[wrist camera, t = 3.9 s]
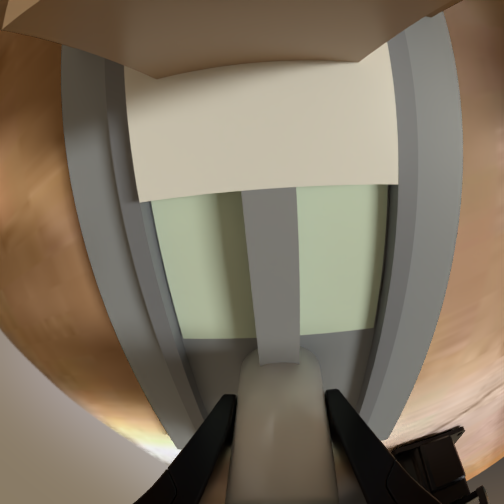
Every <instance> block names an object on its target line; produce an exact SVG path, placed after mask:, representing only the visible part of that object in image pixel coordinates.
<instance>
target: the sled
mask: <svg viewBox="0 0 504 504" xmlns="http://www.w3.org/2000/svg"><path fill="white" fill-rule="evenodd" d="M450 1H452V0H9V1H8V5H7V9H6V13H5V18H4V22H3V28H2V30H7V31H12V32H17V33H22V34H26V35H31V36H35V37H39V38H43V39H47V40H50V41H54V42H57V43H61V44H64V45H68V46H71V47H74V48H77V49H80V50H83V51H86V52H89V53H92V54H95V55H98V56H100V57H103V58H106V59H109V60H111V61H114V62H116V63H119V64H122V65H124V78H125V94H126V107H127V117H128V127H129V136H130V144H131V152H132V159H133V166H134V173H135V179H136V185H137V191H138V197H139V202H147V201H154V200H162V199H169V198H177V197H186V196H194V195H203V194H213V193H223V192H234V191H241V195H242V204H243V214H244V224H245V233H246V243H247V252H248V261H249V271H250V280H251V290H252V299H253V308H254V317H255V326H256V336H257V345H258V349H256V350H254V351H253V352H251V353H250V354H249V355H248V356H247V357H246V358H245V359H244V361H243V362H242V365H241V372H240V380H239V388H238V397H237V405H236V414H235V422H234V431H233V439H232V447H231V456H230V464H229V472H228V481H227V489H226V497H225V504H339V496H338V487H337V479H336V470H335V463H334V455H333V448H332V440H331V433H330V427H329V420H328V414H327V407H326V401H325V395H324V389H323V383H322V377H321V372H320V366H319V362H318V359H317V358H316V356H315V355H314V354H313V353H312V352H311V351H309V350H308V349H306V348H304V347H301V346H300V275H299V239H298V214H297V194H296V187H305V186H328V185H371V184H398V132H397V116H396V103H395V93H394V84H393V76H392V69H391V62H390V56H389V50H388V44H387V41H389V40H390V39H392V38H393V37H395V36H396V35H398V34H399V33H400V32H402V31H403V30H405V29H406V28H408V27H409V26H411V25H413V24H414V23H416V22H417V21H419V20H420V19H422V18H423V17H425V16H427V15H428V14H430V13H431V12H433V11H435V10H436V9H438V8H440V7H441V6H443V5H445V4H447V3H448V2H450Z"/></svg>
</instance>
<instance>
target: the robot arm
mask: <svg viewBox="0 0 504 504" xmlns="http://www.w3.org/2000/svg"><path fill="white" fill-rule="evenodd" d="M324 395H325V401H326V407H327V414H328V420H329V427H330V433H331V440H332V448H333V455H334V463H335V470H336V479H337V487H338V496H339V504H470V503H472V502H474V501H476V500H478V499H479V501H480V503H479V504H490V502H489V499H488V496H487V493H486V489H485V488H484V486H483V485H482V486H480V487H478V488H477V489H476V491H474V492H472V493H470V491H469V488H468V485H467V482H466V479H465V472H464V469H463V466H462V463H461V461H460V458H459V455H458V453H457V450H456V447H455V445H454V444H455V443H456V441H457V440H458V439H459V438H460V437H461V435H462V434H463V433H464V432H465V430H464V427H459V428H457V429H454V430H452V431H449V432H447V433H444V434H441V435H438V436H436V437H433V438H430V439H427V440H424V441H421V442H417V443H414V444H411V445H407V446H404V447H400V448H397V449H395V450H394V451H392V453H390V452H389V451H388V449H387V448H386V447H385V446H384V444H383V443H382V442H381V441H380V440H379V438H378V437H377V436H376V435H375V434H374V432H373V431H372V430H371V429H370V427H369V426H368V425H367V424H366V423H365V421H364V420H363V419H362V418H361V416H360V415H359V414H358V413H357V412H356V410H355V409H354V408H353V407H352V405H351V404H350V403H349V402H348V400H347V399H346V398H345V397H344V395H343V394H342V393H341V392H340V390H339V389H327V390H326V391H325V394H324ZM236 405H237V396H236V394H224V395H222V397H221V398H220V399H219V401H218V402H217V404H216V405H215V406H214V408H213V409H212V411H211V412H210V413H209V415H208V416H207V417H206V419H205V420H204V421H203V423H202V424H201V425H200V427H199V428H198V429H197V431H196V432H195V433H194V435H193V436H192V437H191V439H190V440H189V441H188V443H187V444H186V445H185V447H184V448H183V449H182V450H181V452H180V453H179V454H178V456H177V457H176V458H175V459H174V461H173V462H172V463H171V464H170V466H169V467H168V469H167V470H165V472H164V473H163V474H162V475H161V477H160V478H159V479H158V480H157V481H156V482H155V483H154V485H153V486H152V487H151V488H150V489H149V490H148V491H147V492H146V493H145V494H143V495H142V496H141V497H140V498H139V499H138V500H137V501H136V502H135V503H133V504H225V497H226V489H227V481H228V472H229V464H230V456H231V447H232V439H233V431H234V422H235V414H236Z"/></svg>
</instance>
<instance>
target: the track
mask: <svg viewBox="0 0 504 504" xmlns="http://www.w3.org/2000/svg"><path fill="white" fill-rule="evenodd" d="M387 44H388V50H389V56H390V62H391V69H392V76H393V84H394V93H395V103H396V116H397V132H398V184H371V185H328V186H305V187H296V194H297V214H298V239H299V275H300V346H301V347H304V348H306V349H308V350H309V351H311V352H312V353H313V354H314V355H315V356H316V358H317V359H318V362H319V366H320V372H321V377H322V383H323V389H324V394H325V391H326V390H327V389H339V390H340V392H341V393H342V394H343V395H344V397H345V398H346V399H347V400H348V402H349V403H350V404H351V405H352V407H353V408H354V409H355V410H356V412H357V413H358V414H359V415H360V416H361V418H362V419H363V420H364V421H365V423H366V424H367V425H368V426H369V427H370V429H371V430H372V431H373V432H374V434H375V435H376V436H377V437H378V438H379V440H380V441H381V440H386V439H388V437H389V435H390V434H391V432H392V430H393V428H394V426H395V424H396V422H397V420H398V419H399V417H400V415H401V413H402V411H403V409H404V406H405V404H406V402H407V400H408V398H409V396H410V394H411V391H412V389H413V387H414V385H415V382H416V380H417V377H418V375H419V373H420V370H421V368H422V365H423V362H424V360H425V357H426V354H427V352H428V349H429V346H430V343H431V340H432V337H433V334H434V331H435V328H436V325H437V322H438V318H439V315H440V311H441V308H442V304H443V300H444V297H445V293H446V289H447V284H448V280H449V275H450V271H451V266H452V261H453V255H454V250H455V244H456V237H457V231H458V223H459V215H460V205H461V193H462V175H463V130H462V113H461V101H460V92H459V84H458V77H457V70H456V64H455V59H454V54H453V49H452V44H451V40H450V35H449V31H448V27H447V24H446V20H445V16H444V13H443V11H442V12H440V13H438V14H437V15H435V16H433V17H432V18H431V17H427V16H425V17H423V18H422V19H420V20H419V21H417V22H416V23H414V24H413V25H411V26H409V27H408V28H406V29H405V30H403V31H402V32H400V33H399V34H398V35H396V36H395V37H393V38H392V39H390V40H389V41H387ZM61 98H62V116H63V128H64V138H65V146H66V154H67V161H68V168H69V174H70V180H71V185H72V191H73V196H74V201H75V205H76V210H77V214H78V219H79V223H80V227H81V231H82V235H83V239H84V242H85V246H86V250H87V253H88V256H89V260H90V263H91V266H92V270H93V273H94V276H95V279H96V282H97V285H98V288H99V291H100V294H101V296H102V299H103V302H104V305H105V307H106V310H107V313H108V315H109V318H110V320H111V323H112V325H113V328H114V330H115V332H116V335H117V337H118V339H119V342H120V344H121V346H122V349H123V351H124V353H125V355H126V357H127V360H128V362H129V364H130V366H131V368H132V370H133V372H134V374H135V376H136V378H137V380H138V382H139V384H140V386H141V388H142V390H143V392H144V393H145V395H146V397H147V399H148V401H149V403H150V404H151V406H152V408H153V410H154V412H155V413H156V415H157V417H158V418H159V420H160V422H161V423H162V425H163V427H164V428H165V430H166V432H167V433H168V435H169V436H170V438H171V440H172V441H173V443H174V444H175V446H176V447H177V449H183V448H184V447H185V445H186V444H187V443H188V441H189V440H190V439H191V437H192V436H193V435H194V433H195V432H196V431H197V429H198V428H199V427H200V425H201V424H202V423H203V421H204V420H205V419H206V417H207V416H208V415H209V413H210V412H211V411H212V409H213V408H214V406H215V405H216V404H217V402H218V401H219V399H220V398H221V397H222V395H224V394H236V396H237V397H238V388H239V380H240V372H241V365H242V362H243V361H244V359H245V358H246V357H247V356H248V355H249V354H250V353H251V352H253V351H254V350H256V349H258V345H257V336H256V326H255V317H254V308H253V299H252V290H251V280H250V271H249V261H248V252H247V243H246V233H245V224H244V214H243V204H242V195H241V191H234V192H223V193H213V194H203V195H194V196H186V197H177V198H169V199H162V200H154V201H147V202H139V197H138V191H137V185H136V179H135V173H134V166H133V159H132V152H131V144H130V136H129V127H128V117H127V107H126V94H125V78H124V65H122V64H119V63H116V62H114V61H111V60H109V59H106V58H103V57H100V56H98V55H95V54H92V53H89V52H86V51H83V50H80V49H77V48H72V47H69V46H66V45H62V52H61Z"/></svg>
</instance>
